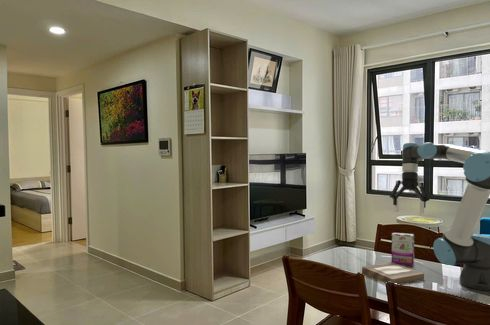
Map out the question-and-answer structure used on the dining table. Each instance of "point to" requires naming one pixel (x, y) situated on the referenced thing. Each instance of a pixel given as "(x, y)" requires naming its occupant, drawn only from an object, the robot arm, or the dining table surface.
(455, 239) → the robot arm
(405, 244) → the candy bar box
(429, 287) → the dining table surface
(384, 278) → the walnut plinth
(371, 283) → the dining table surface
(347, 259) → the dining table surface
